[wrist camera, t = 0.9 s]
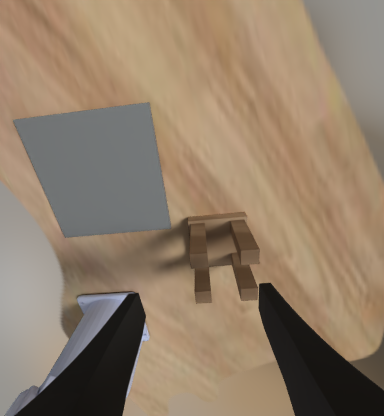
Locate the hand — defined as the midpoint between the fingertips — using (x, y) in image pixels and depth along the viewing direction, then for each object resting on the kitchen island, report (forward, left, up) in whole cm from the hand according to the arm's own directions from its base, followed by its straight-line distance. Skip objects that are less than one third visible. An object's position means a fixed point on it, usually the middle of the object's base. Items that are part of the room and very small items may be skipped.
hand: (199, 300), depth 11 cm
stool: (-2, -2, -10) cm, 11 cm away
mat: (+6, +9, -10) cm, 15 cm away
